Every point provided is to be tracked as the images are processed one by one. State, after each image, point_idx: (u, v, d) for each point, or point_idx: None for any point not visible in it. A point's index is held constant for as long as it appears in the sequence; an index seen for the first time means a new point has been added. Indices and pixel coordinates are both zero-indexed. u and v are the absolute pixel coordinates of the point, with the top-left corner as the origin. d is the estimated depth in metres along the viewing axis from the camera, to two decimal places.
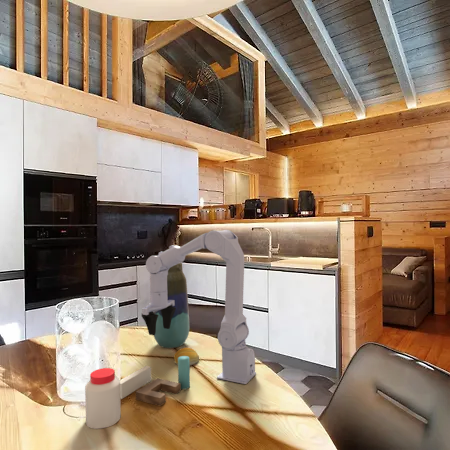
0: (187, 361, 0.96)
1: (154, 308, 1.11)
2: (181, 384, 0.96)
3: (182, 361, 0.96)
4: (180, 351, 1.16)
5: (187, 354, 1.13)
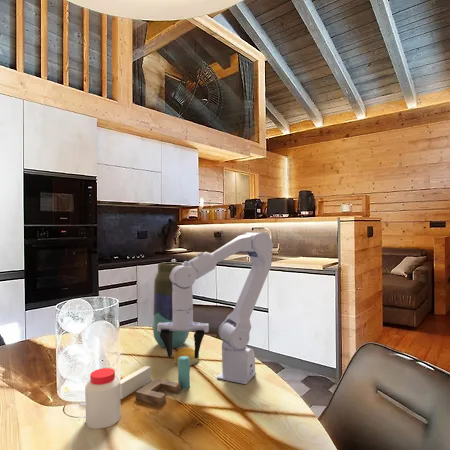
0: (187, 361, 0.96)
1: (166, 326, 0.96)
2: (181, 384, 0.96)
3: (182, 361, 0.96)
4: (180, 351, 1.16)
5: (187, 354, 1.13)
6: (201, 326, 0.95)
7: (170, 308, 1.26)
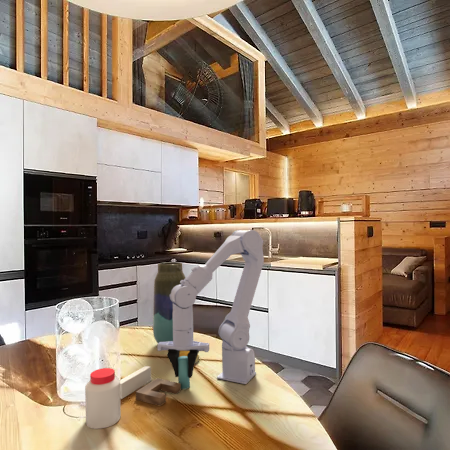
0: (187, 361, 0.96)
1: (166, 346, 0.96)
2: (181, 384, 0.96)
3: (182, 361, 0.96)
4: (180, 351, 1.16)
5: (187, 354, 1.13)
6: (201, 346, 0.95)
7: (170, 308, 1.26)
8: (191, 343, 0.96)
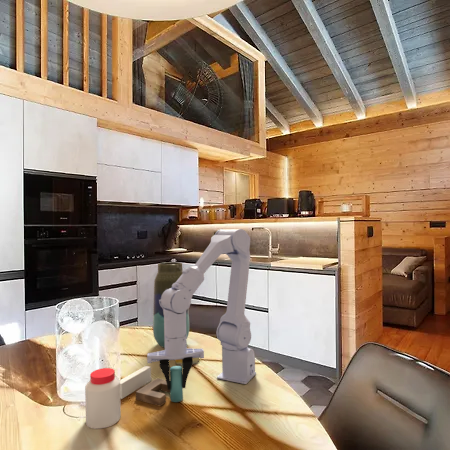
0: (181, 371, 0.89)
1: (159, 357, 0.88)
2: (175, 397, 0.88)
3: (176, 372, 0.88)
4: None
5: None
6: (197, 352, 0.90)
7: None
8: (186, 350, 0.89)
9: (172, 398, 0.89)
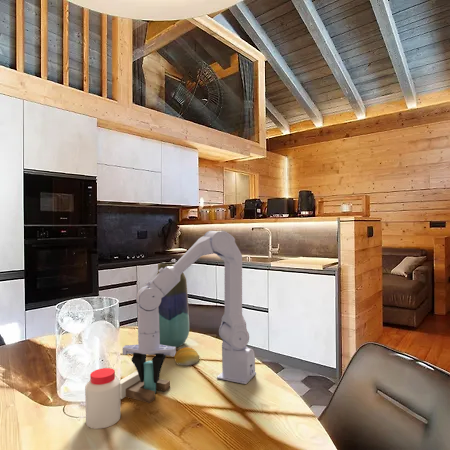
0: None
1: (131, 350, 0.93)
2: None
3: (147, 366, 0.92)
4: (180, 351, 1.16)
5: (187, 354, 1.13)
6: (167, 350, 0.92)
7: (170, 308, 1.26)
8: (156, 347, 0.93)
9: None
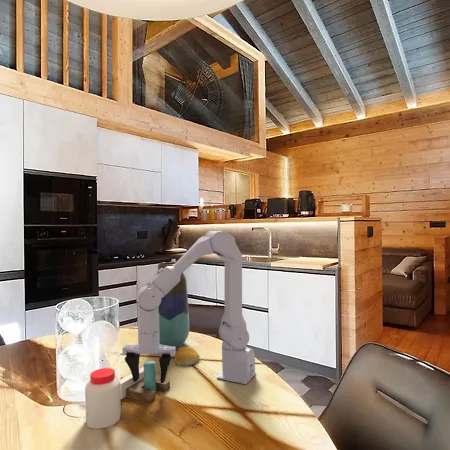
0: (153, 367, 0.93)
1: (131, 350, 0.93)
2: None
3: (147, 367, 0.92)
4: (180, 351, 1.16)
5: (188, 354, 1.13)
6: (167, 350, 0.92)
7: (170, 308, 1.26)
8: (156, 347, 0.93)
9: None
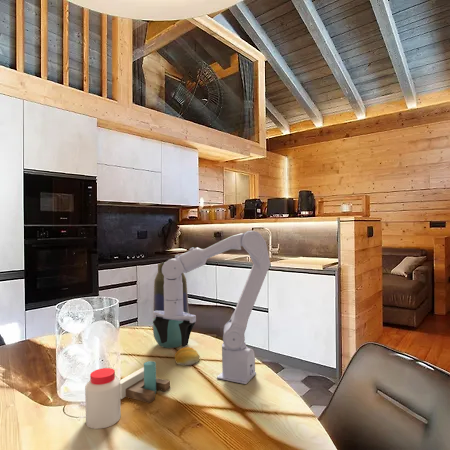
0: (153, 366, 0.93)
1: (158, 314, 1.04)
2: None
3: (148, 367, 0.92)
4: (181, 351, 1.16)
5: (188, 354, 1.13)
6: (187, 317, 1.00)
7: None
8: (178, 313, 1.01)
9: None
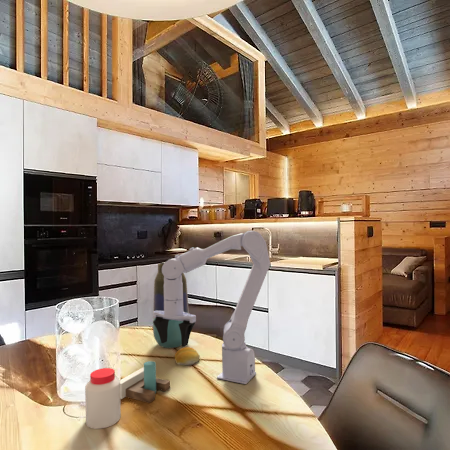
0: (153, 366, 0.93)
1: (158, 314, 1.04)
2: None
3: (147, 367, 0.92)
4: (181, 351, 1.16)
5: (188, 353, 1.13)
6: (187, 317, 1.00)
7: None
8: (178, 313, 1.01)
9: None
